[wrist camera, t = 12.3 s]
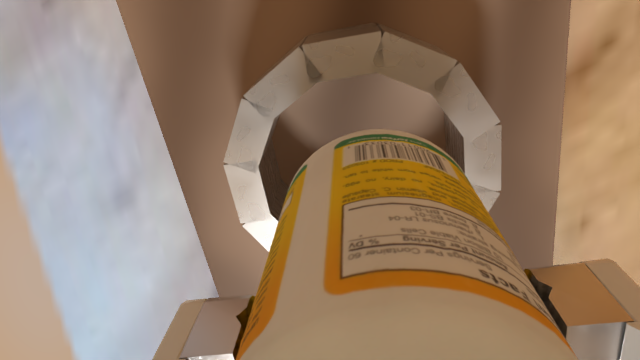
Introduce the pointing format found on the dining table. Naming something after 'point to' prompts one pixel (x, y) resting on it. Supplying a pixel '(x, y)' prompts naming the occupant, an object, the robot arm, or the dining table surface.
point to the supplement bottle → (393, 265)
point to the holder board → (351, 104)
